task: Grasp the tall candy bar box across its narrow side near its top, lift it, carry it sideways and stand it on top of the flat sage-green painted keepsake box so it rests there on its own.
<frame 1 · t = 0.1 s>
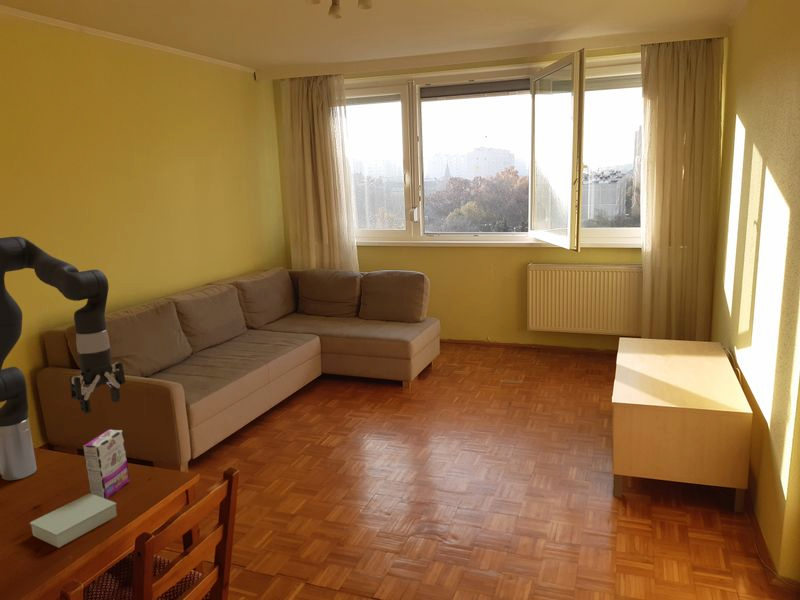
hand: (101, 407, 162), 29 cm above the table, fingers open, 8 cm apart
keepsake box: (76, 526, 160), on the table
candy bar box: (110, 490, 177), on the table
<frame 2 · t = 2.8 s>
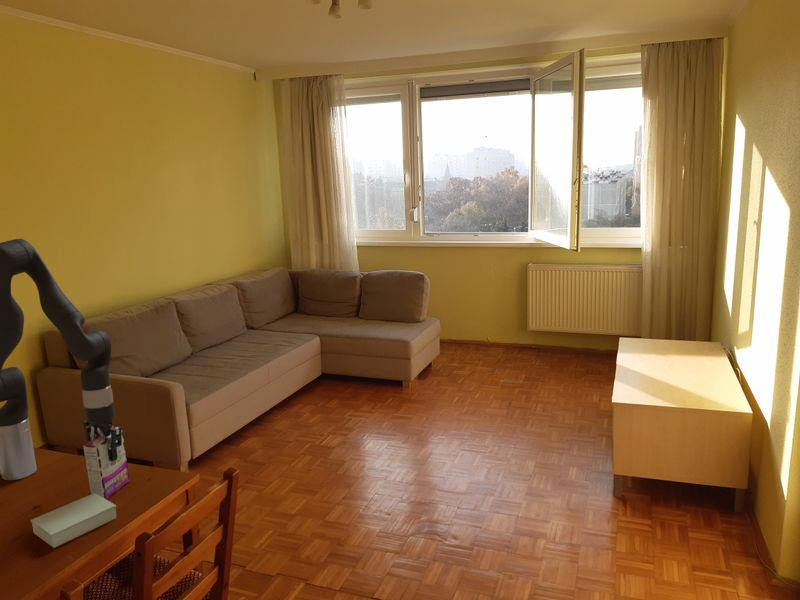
hand: (106, 457, 175), 10 cm above the table, fingers closed on candy bar box, 6 cm apart
candy bar box: (110, 490, 177), on the table, touching gripper
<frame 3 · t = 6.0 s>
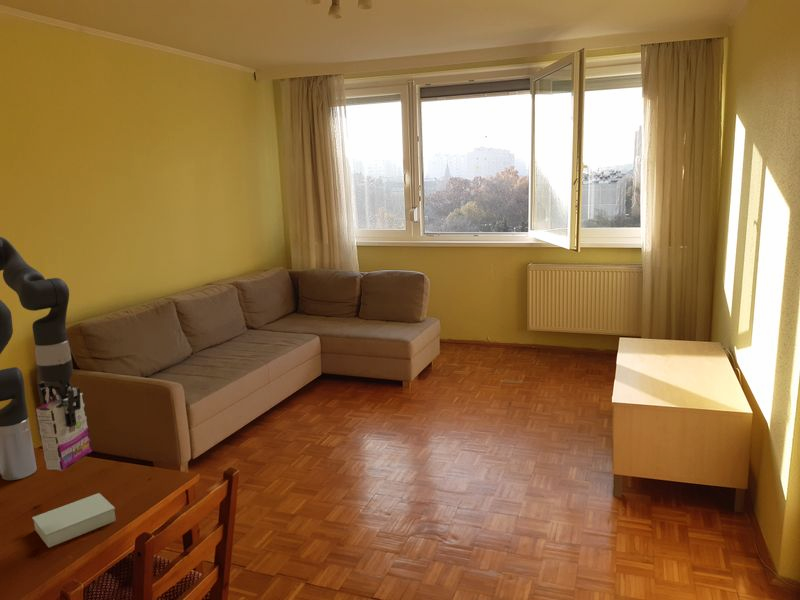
hand: (63, 423, 155), 28 cm above the table, fingers closed on candy bar box, 6 cm apart
candy bar box: (69, 461, 157), point 17 cm above the table, touching gripper
when the fingers open (14 cm above the table, at t = 9.1 s): candy bar box stays where it is, resting on keepsake box.
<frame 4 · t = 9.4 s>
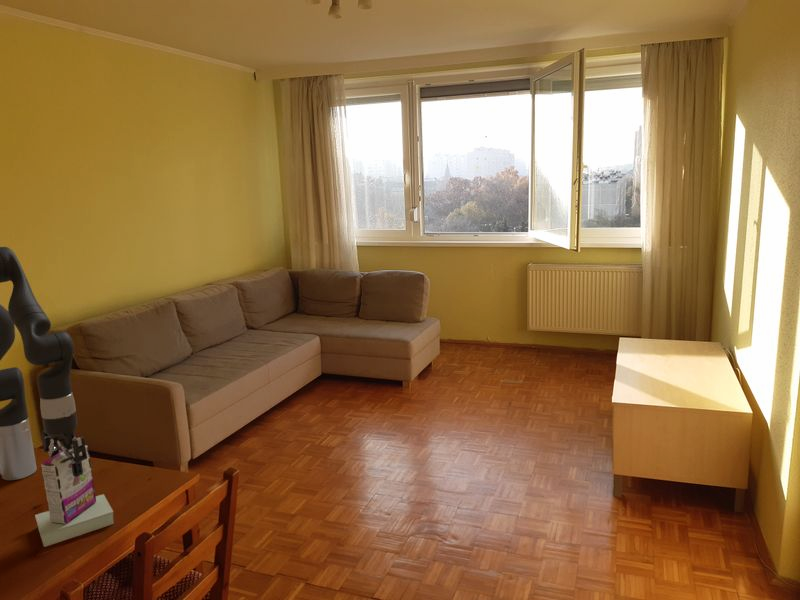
hand: (67, 471, 156), 15 cm above the table, fingers open, 8 cm apart
keepsake box: (76, 527, 160), on the table, touching candy bar box
candy bar box: (73, 513, 159), point 3 cm above the table, touching keepsake box
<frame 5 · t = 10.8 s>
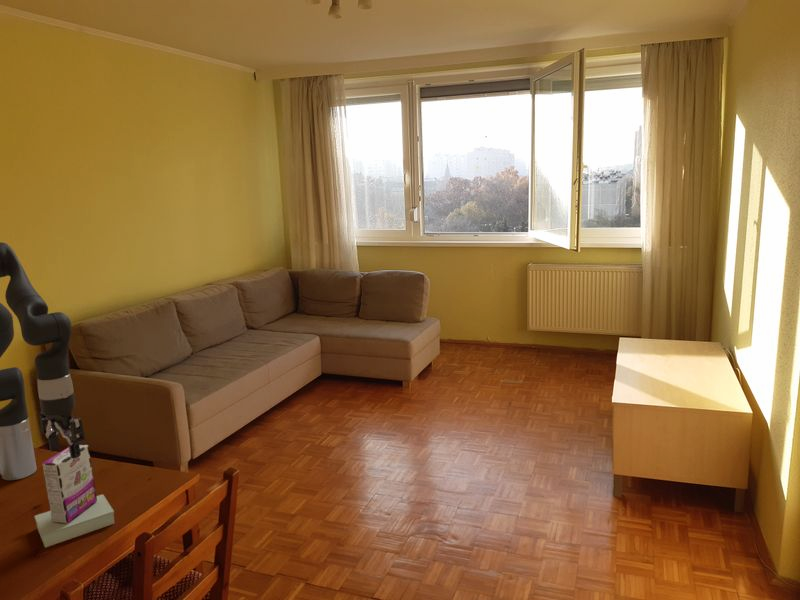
hand: (65, 453, 155), 20 cm above the table, fingers open, 8 cm apart
keepsake box: (76, 527, 159), on the table
candy bar box: (74, 512, 159), point 3 cm above the table
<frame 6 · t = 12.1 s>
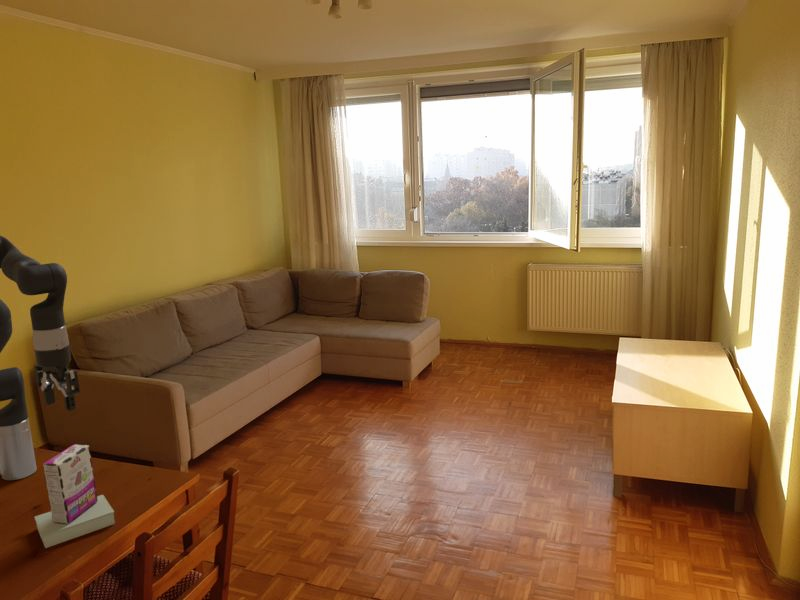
hand: (60, 406, 155), 32 cm above the table, fingers open, 8 cm apart
keepsake box: (76, 528, 159), on the table, touching candy bar box
candy bar box: (75, 512, 159), point 3 cm above the table, touching keepsake box
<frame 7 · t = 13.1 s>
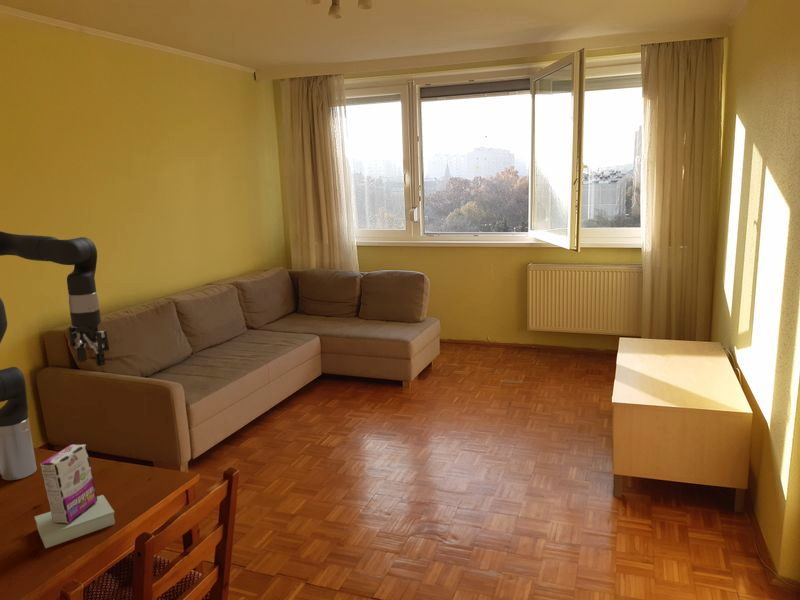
hand: (91, 363, 178), 36 cm above the table, fingers open, 8 cm apart
keepsake box: (76, 528, 159), on the table
candy bar box: (75, 512, 159), point 3 cm above the table
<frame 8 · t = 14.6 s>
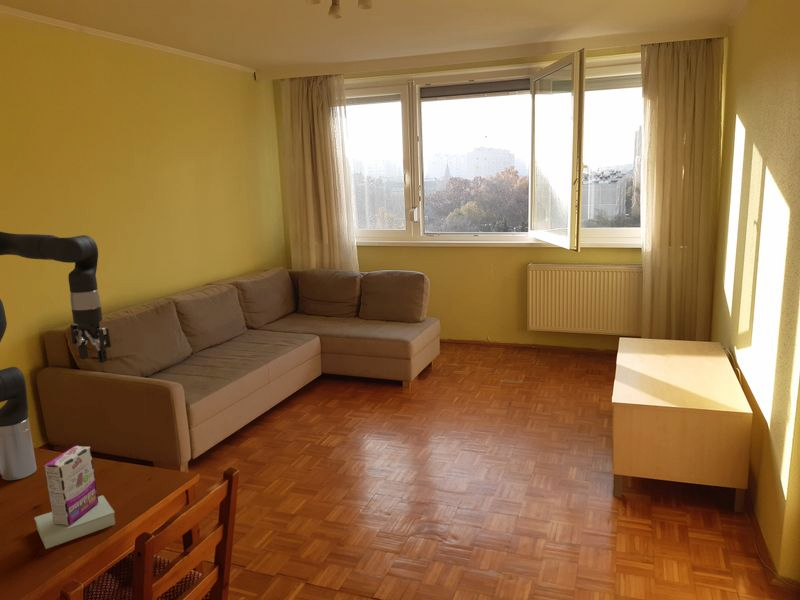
hand: (93, 360, 179), 36 cm above the table, fingers open, 8 cm apart
keepsake box: (76, 529, 159), on the table, touching candy bar box
candy bar box: (76, 514, 158), point 3 cm above the table, touching keepsake box
at the end: candy bar box inside the target area on the keepsake box (0.3 cm from its centre), point 3.9 cm above the keepsake box's base; candy bar box tilted 0°; the gripper is holding nothing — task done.
